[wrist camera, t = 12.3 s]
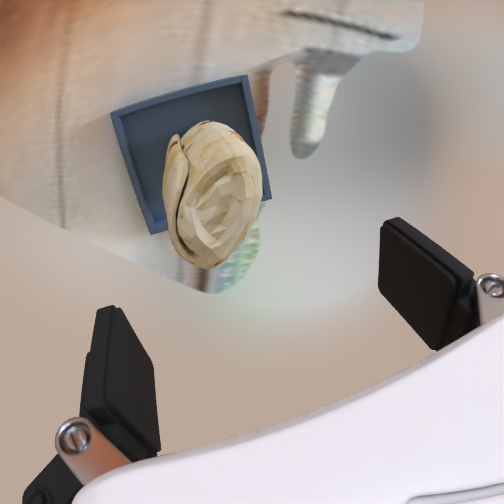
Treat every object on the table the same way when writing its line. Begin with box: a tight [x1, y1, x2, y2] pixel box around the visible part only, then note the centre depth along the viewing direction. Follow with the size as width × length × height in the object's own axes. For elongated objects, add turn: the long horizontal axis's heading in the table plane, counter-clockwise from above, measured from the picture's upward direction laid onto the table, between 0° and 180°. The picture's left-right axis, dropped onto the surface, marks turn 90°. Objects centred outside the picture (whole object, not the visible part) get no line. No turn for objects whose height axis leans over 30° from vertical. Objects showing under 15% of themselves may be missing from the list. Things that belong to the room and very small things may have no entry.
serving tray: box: [110, 75, 272, 235], centre depth 36 cm, size 16×16×2 cm
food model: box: [162, 120, 263, 269], centre depth 28 cm, size 10×7×20 cm
